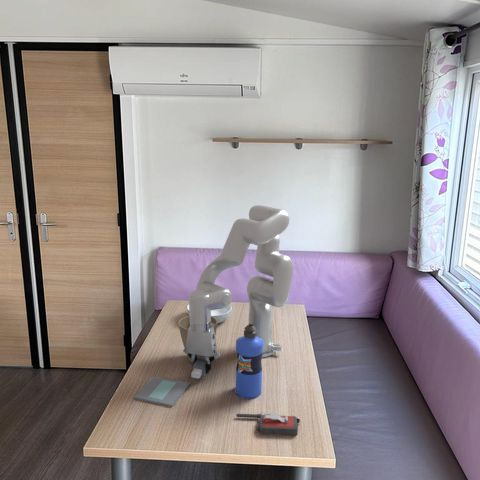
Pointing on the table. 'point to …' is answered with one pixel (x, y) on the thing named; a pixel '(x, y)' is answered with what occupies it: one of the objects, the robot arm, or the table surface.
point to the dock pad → (162, 391)
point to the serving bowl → (219, 313)
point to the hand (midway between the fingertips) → (202, 370)
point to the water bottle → (249, 364)
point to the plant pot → (184, 327)
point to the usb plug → (199, 368)
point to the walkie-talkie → (275, 423)
